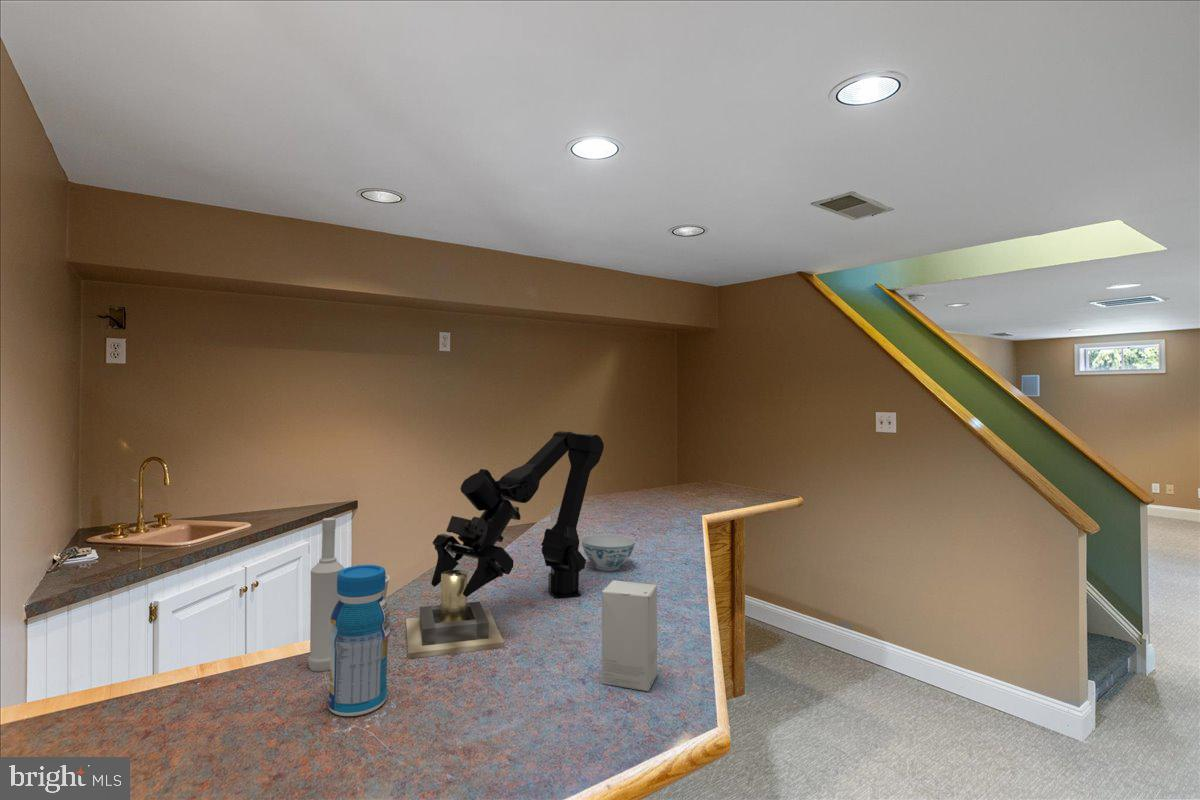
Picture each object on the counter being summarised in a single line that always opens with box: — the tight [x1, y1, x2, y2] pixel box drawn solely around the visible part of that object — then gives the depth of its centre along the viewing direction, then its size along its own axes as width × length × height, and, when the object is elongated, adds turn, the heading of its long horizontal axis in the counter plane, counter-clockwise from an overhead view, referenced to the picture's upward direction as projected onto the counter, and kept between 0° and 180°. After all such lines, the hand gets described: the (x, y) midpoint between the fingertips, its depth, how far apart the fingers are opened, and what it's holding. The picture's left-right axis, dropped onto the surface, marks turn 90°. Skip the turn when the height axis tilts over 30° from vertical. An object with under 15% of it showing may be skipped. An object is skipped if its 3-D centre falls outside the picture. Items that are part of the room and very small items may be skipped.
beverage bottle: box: [327, 564, 391, 717], centre depth 87 cm, size 8×8×20 cm
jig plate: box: [405, 601, 505, 660], centre depth 113 cm, size 17×17×4 cm
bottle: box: [307, 517, 345, 672], centre depth 99 cm, size 5×5×25 cm
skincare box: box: [601, 580, 658, 692], centre depth 96 cm, size 8×7×16 cm
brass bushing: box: [439, 569, 469, 623], centre depth 113 cm, size 5×5×11 cm
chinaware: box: [581, 533, 636, 572], centre depth 162 cm, size 15×15×8 cm
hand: (448, 590), depth 112 cm, fingers open, 9 cm apart
